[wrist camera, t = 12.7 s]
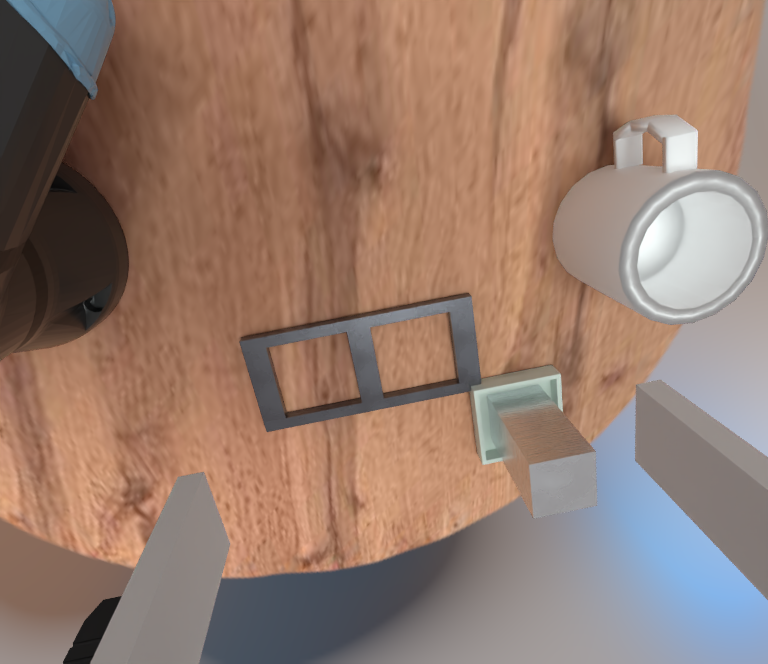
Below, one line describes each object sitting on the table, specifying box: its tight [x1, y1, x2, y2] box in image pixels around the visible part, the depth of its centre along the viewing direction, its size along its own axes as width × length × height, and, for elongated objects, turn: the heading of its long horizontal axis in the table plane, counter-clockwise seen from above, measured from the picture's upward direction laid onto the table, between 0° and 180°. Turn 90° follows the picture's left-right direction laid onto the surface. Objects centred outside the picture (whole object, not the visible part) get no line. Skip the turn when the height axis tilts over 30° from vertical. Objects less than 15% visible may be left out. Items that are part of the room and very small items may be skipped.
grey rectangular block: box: [487, 384, 597, 519], centre depth 43 cm, size 5×5×11 cm
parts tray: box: [469, 365, 563, 465], centre depth 47 cm, size 8×8×2 cm
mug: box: [553, 115, 768, 325], centre depth 37 cm, size 14×10×11 cm
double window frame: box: [240, 293, 481, 432], centre depth 45 cm, size 20×9×1 cm, turn 100°
